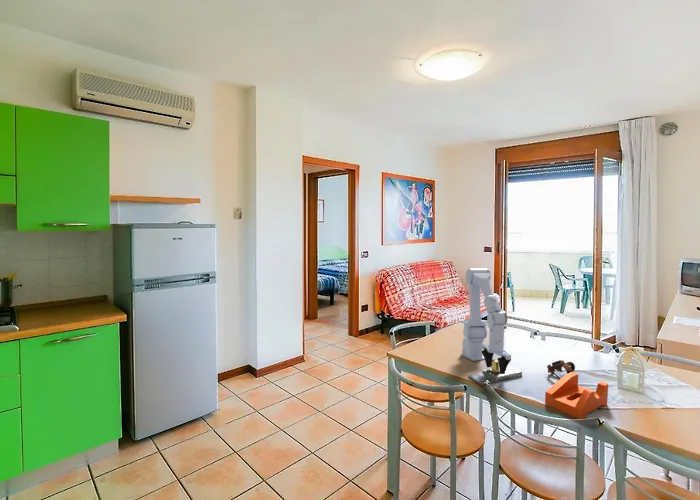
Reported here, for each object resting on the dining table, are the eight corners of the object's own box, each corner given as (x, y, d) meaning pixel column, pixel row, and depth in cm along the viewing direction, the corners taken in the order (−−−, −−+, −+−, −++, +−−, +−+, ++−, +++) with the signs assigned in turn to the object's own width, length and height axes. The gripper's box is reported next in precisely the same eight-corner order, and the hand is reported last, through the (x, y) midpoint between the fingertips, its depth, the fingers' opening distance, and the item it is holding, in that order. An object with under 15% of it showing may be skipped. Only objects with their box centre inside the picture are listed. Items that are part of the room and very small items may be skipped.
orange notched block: (571, 392, 147) (572, 371, 146) (607, 405, 137) (608, 383, 136) (544, 404, 138) (545, 382, 137) (581, 420, 127) (582, 397, 126)
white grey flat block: (481, 385, 153) (481, 380, 153) (468, 377, 160) (468, 373, 160) (522, 376, 161) (522, 371, 161) (507, 369, 169) (507, 364, 168)
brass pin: (489, 376, 161) (490, 360, 161) (495, 375, 162) (495, 359, 162) (494, 378, 159) (495, 362, 158) (500, 377, 160) (500, 361, 159)
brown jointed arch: (567, 386, 153) (556, 366, 155) (550, 387, 161) (539, 368, 163) (586, 373, 157) (575, 354, 159) (568, 375, 166) (558, 357, 168)
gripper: (477, 335, 164) (476, 365, 165) (502, 346, 151) (501, 378, 152) (489, 333, 167) (488, 362, 168) (515, 343, 154) (514, 375, 155)
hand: (495, 370), depth 160 cm, fingers open, 7 cm apart
